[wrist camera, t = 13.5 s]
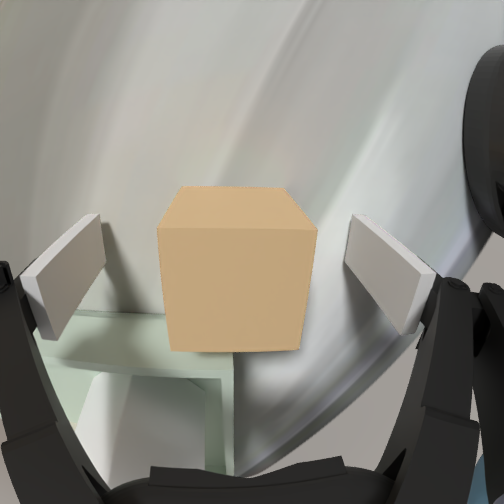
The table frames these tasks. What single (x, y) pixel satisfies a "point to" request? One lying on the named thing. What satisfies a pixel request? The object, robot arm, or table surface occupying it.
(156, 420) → the milk
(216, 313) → the box
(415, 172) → the table surface
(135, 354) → the tray
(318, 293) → the table surface
